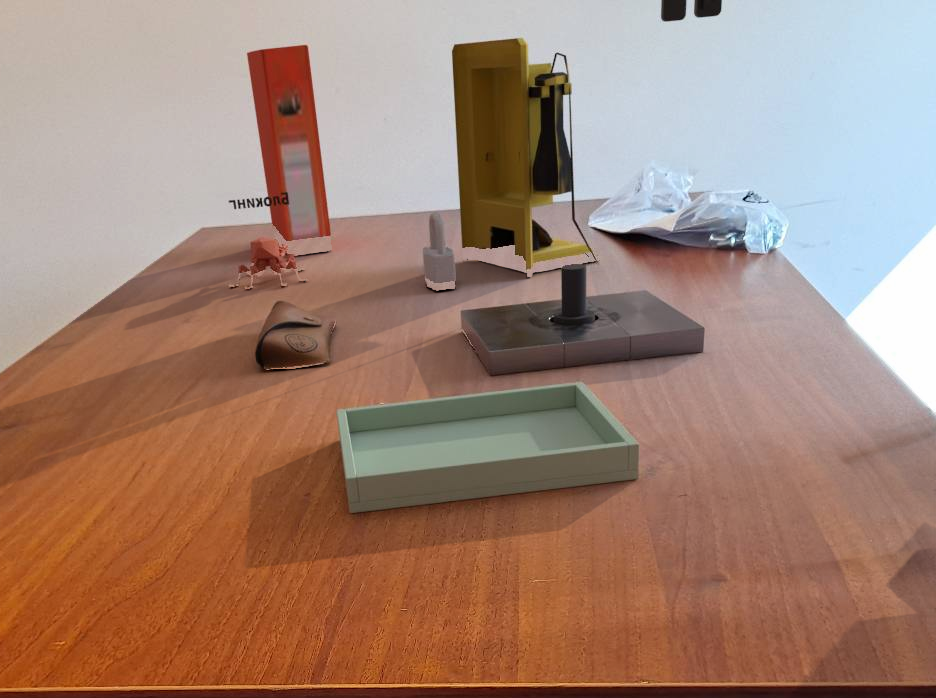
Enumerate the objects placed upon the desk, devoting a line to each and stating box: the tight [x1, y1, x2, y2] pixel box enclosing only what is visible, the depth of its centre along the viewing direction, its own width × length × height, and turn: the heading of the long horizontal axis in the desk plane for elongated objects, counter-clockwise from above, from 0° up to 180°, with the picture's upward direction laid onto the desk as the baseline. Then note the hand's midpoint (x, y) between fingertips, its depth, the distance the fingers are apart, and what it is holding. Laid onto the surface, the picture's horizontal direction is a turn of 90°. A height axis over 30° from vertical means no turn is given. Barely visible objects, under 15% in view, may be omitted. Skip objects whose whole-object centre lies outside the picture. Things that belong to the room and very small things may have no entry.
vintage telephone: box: [451, 37, 600, 270], centre depth 138 cm, size 31×14×30 cm, turn 26°
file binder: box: [246, 44, 332, 241], centre depth 167 cm, size 8×17×32 cm, turn 14°
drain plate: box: [460, 289, 706, 377], centre depth 106 cm, size 22×18×2 cm
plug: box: [553, 264, 595, 325], centre depth 104 cm, size 4×4×8 cm
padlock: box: [422, 211, 457, 283], centre depth 134 cm, size 7×4×10 cm, turn 11°
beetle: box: [228, 192, 297, 275], centre depth 148 cm, size 15×12×13 cm
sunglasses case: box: [254, 300, 336, 370], centre depth 113 cm, size 18×7×7 cm
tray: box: [336, 381, 640, 514], centre depth 78 cm, size 22×16×3 cm
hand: (689, 19), depth 89 cm, fingers open, 8 cm apart
